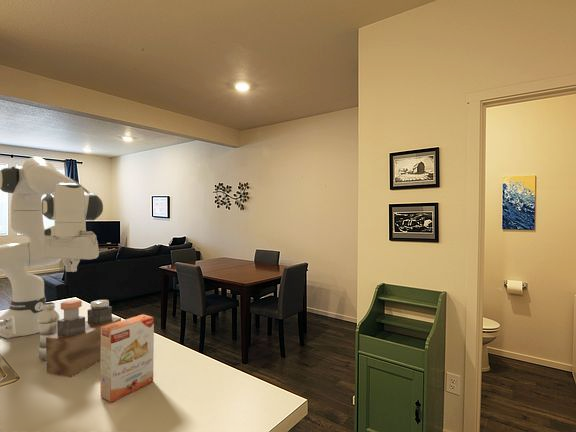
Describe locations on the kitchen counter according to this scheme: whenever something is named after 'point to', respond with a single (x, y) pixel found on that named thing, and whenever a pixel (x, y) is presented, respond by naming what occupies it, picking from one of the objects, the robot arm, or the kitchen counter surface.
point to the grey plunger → (99, 304)
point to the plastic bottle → (47, 326)
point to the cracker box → (126, 356)
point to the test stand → (77, 343)
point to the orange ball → (71, 309)
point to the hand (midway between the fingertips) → (71, 271)
